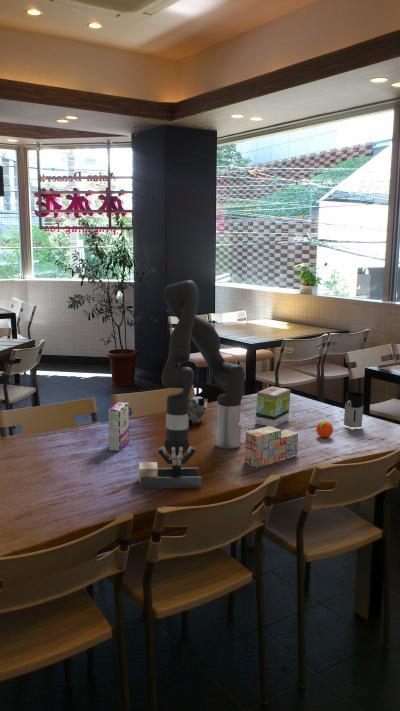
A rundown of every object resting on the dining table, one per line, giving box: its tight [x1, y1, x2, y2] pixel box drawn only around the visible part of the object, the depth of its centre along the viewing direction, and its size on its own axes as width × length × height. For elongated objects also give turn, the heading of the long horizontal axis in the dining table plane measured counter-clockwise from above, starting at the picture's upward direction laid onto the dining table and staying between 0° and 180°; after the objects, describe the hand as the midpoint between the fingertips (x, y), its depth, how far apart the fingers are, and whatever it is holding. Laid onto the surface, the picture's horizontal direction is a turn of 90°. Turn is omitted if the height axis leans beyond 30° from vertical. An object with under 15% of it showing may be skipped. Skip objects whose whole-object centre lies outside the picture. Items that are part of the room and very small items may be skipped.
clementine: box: [316, 420, 334, 438], centre depth 254 cm, size 8×7×7 cm
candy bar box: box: [107, 401, 130, 452], centre depth 236 cm, size 11×5×16 cm, turn 168°
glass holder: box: [343, 391, 365, 427], centre depth 266 cm, size 9×14×15 cm, turn 148°
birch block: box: [138, 461, 159, 484], centre depth 203 cm, size 6×6×5 cm
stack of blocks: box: [244, 426, 299, 468], centre depth 227 cm, size 21×6×12 cm, turn 127°
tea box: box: [254, 386, 291, 428], centre depth 273 cm, size 15×10×15 cm, turn 148°
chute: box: [139, 467, 202, 490], centre depth 204 cm, size 20×9×4 cm, turn 96°
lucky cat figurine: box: [188, 396, 209, 425], centre depth 271 cm, size 15×12×14 cm
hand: (176, 474), depth 204 cm, fingers closed
